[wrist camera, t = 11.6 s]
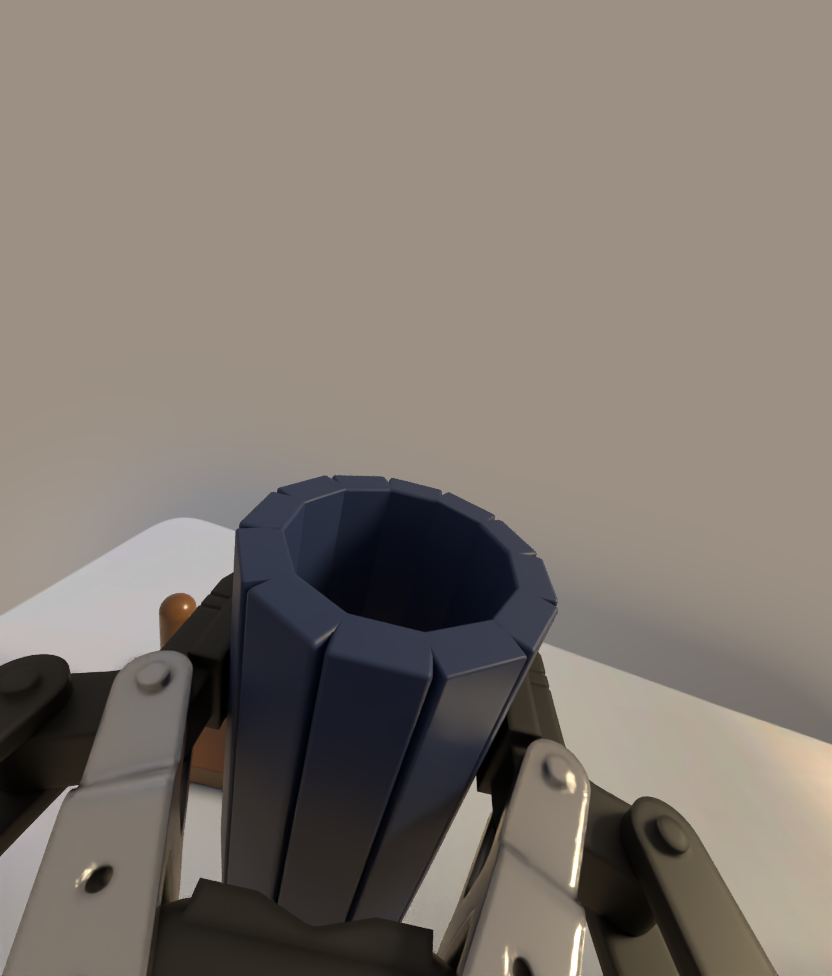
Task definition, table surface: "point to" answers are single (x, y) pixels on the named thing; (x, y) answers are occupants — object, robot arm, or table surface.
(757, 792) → the table surface
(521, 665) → the navy ribbed cylinder
